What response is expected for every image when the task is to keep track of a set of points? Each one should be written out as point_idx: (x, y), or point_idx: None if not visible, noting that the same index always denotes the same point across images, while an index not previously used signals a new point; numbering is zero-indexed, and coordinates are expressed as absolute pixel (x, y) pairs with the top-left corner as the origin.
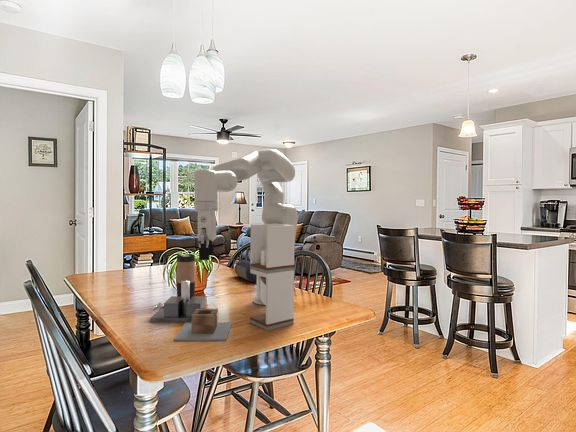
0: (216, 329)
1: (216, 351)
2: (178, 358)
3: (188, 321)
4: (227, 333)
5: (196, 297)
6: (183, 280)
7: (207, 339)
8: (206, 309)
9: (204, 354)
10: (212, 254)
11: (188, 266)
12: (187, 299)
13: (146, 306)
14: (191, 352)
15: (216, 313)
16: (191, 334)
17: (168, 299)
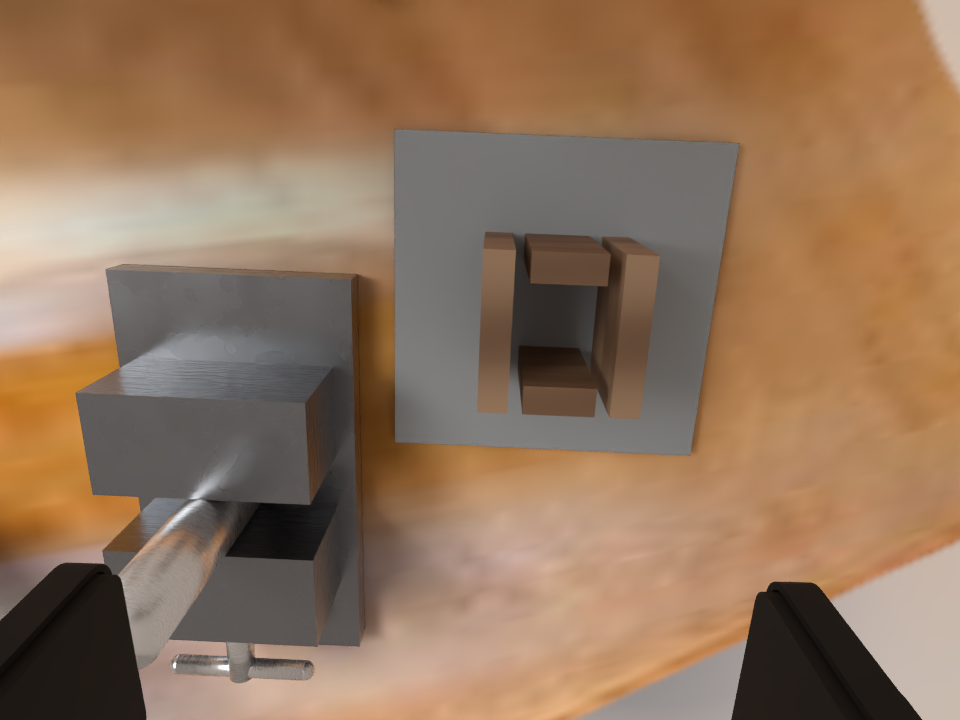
0: (545, 227)
1: (898, 186)
2: (944, 379)
3: (359, 430)
4: (634, 141)
5: (122, 460)
6: None
7: (718, 264)
8: (490, 333)
9: (926, 252)
10: (111, 588)
11: None
12: (222, 515)
13: None
14: (878, 328)
15: (508, 245)
16: None
17: (207, 638)
